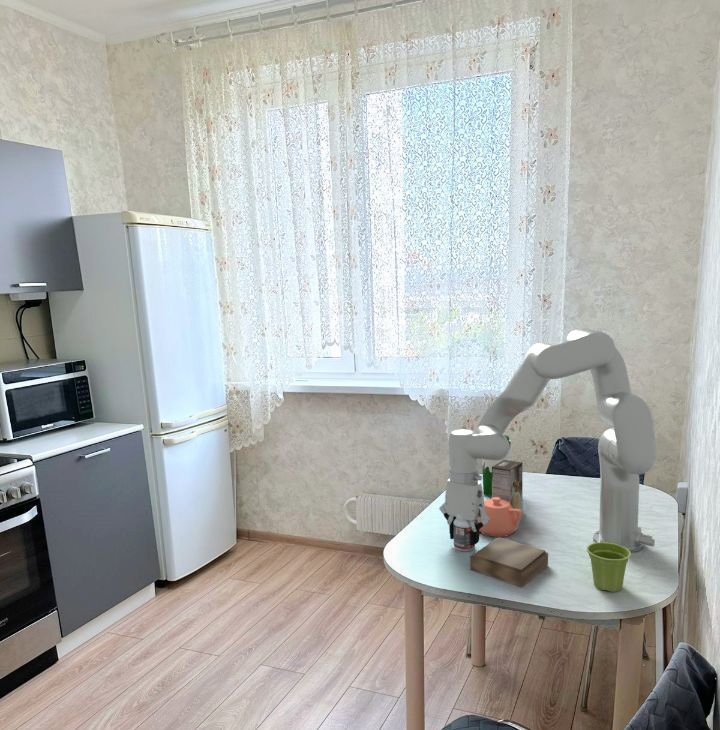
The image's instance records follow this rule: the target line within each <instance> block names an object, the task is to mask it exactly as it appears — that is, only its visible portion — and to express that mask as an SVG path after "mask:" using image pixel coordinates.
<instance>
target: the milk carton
mask: <svg viewBox="0 0 720 730" xmlns="http://www.w3.org/2000/svg"><path fill="white" fill-rule="evenodd" d="M503 435H504V436H505V437H506V438H507V440H508V442H509V446H510V449H509V452H508V454H507V455H506V456H505V457H504V458H503V459H500V460H484V459H482V490H483V496H491V497H492V467H493V466H494V465H496V464H498V463H499V462H501V461H503V460H509V461H512V459H511V458H512V456H511V455H512V440H510V436H509V435H506V434H503Z"/></svg>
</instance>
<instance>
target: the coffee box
mask: <svg viewBox="0 0 720 730" xmlns="http://www.w3.org/2000/svg"><path fill="white" fill-rule="evenodd" d="M523 488H524V487H523V462H522V461H515V460H511V461H509V460H503V461H501V462H499V463H498V464H496V465H494V466H493V467H492V496H491V499H492V498H493V497H499V498H501V500H505V501H508V502H509V503H510V504H511V506H512V507H513V509H520V510H521V511H522V512H523V505H524V504H523V503H524V502H523V501H524V500H523V493H524V492H523ZM516 516H517V513H516Z"/></svg>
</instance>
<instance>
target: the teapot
mask: <svg viewBox="0 0 720 730" xmlns="http://www.w3.org/2000/svg"><path fill="white" fill-rule="evenodd" d="M484 507H485V513H486V514H487V516H488V517H489V518H490V521H489V522H488V523H487V524H485V525H484V526H483V527H482V528H481V529H479V533H480V534H483V535H486V536H489V537H496V538H498V537H500V538H503V537H508V536H510V535H513V534H514V533H515V531H517V529H518V527H519V522H520V521H521V519H522V518H523V515H524V514H523V512H522V511H521V510H520V509H513V507H512V506H511V504H510V503H509V502H508V501H505V500H501V498H499V497H493V498H492V497H491V498H490V499H489V498H488V499H486V500H484ZM516 513H517V516H516ZM478 518H479V521H480V522H481V521H482V518H481V517H478Z"/></svg>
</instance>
